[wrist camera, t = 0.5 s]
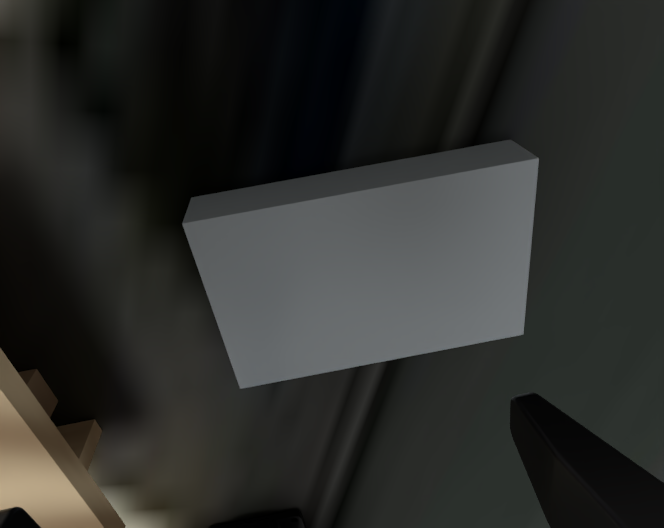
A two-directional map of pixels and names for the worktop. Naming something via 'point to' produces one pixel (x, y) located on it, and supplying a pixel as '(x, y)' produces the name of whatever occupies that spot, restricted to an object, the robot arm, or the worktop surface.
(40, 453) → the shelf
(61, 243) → the worktop surface
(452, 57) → the worktop surface
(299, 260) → the slate board
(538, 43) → the worktop surface
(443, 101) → the worktop surface
